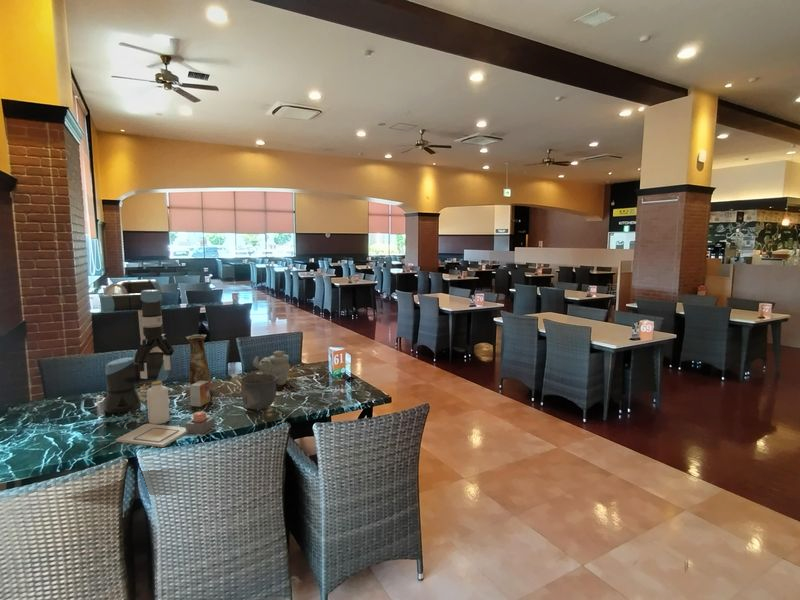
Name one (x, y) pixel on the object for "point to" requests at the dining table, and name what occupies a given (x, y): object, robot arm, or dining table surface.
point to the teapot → (275, 366)
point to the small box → (200, 393)
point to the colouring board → (153, 435)
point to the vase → (198, 360)
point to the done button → (199, 417)
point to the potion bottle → (158, 403)
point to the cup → (258, 390)
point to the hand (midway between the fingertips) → (156, 373)
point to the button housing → (200, 426)
